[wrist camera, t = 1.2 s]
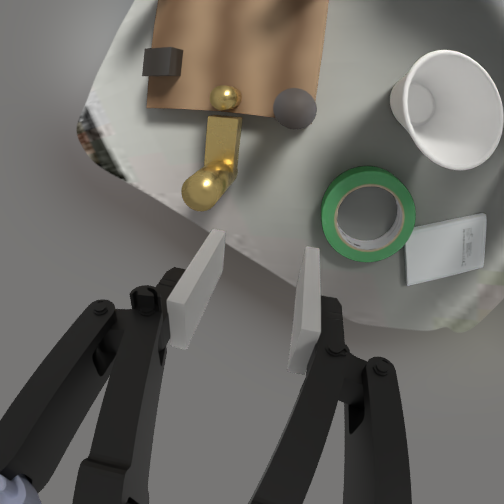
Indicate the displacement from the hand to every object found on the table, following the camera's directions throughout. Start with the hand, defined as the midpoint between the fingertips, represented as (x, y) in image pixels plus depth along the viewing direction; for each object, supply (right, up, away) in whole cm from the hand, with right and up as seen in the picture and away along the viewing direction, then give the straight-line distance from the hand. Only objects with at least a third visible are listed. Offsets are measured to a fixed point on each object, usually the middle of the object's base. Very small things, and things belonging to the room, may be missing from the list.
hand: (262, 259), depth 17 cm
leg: (-3, +12, +12) cm, 18 cm away
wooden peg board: (-2, +24, +9) cm, 25 cm away
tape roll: (+13, +5, +17) cm, 22 cm away
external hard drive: (+25, +1, +17) cm, 30 cm away
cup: (+17, +17, +9) cm, 26 cm away
